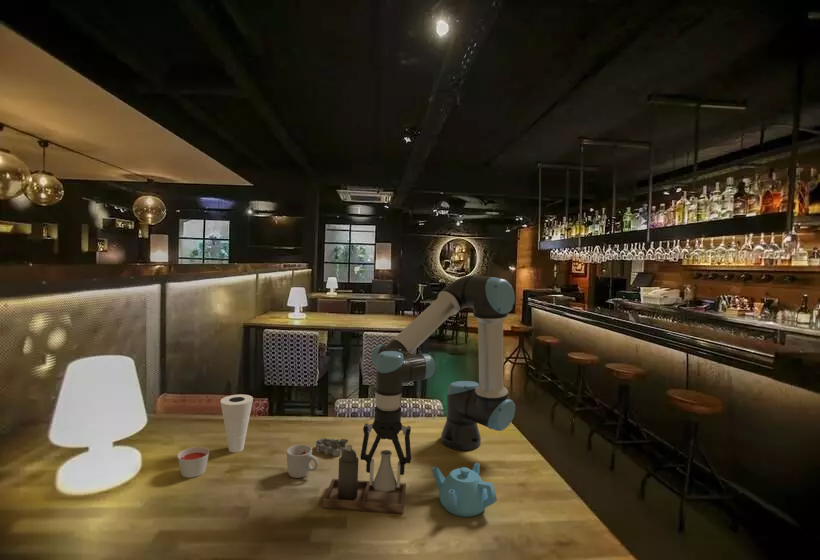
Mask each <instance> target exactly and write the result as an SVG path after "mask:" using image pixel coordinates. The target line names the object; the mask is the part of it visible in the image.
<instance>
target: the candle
mask: <svg viewBox="0 0 820 560" xmlns="http://www.w3.org/2000/svg"><path fill="white" fill-rule="evenodd" d="M209 455H210V449H209V448H207V447H205V446H193V447H188V448H184V449H182V450H181V451H180V452H178V453H177V462H178V465H179V466H178V467H179V471H180V475H181V477H183V478H187V479H191V478H197V477H200V476H202V475H203V474H205V472H206V469H207V465H208V460H209Z"/></svg>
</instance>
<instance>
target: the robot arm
mask: <svg viewBox="0 0 820 560" xmlns="http://www.w3.org/2000/svg"><path fill="white" fill-rule="evenodd" d="M515 299H516V298H515V290H514V288H513V286H512V284H511V283H510V282H509V281H508V280H506V279H504V278H498V277H495V276H494V277H493V276H481V275H480V276H479V275H472V274H470V275H465V276H462V277H459V278H458V279H456V280H454V281H452V282H451V283H450V284H448V285H446V286H445V287H444V288H443V289H442V290H440V291H439V293H438V294H437V297H436V299H435V300H434V301H433V302H431V304H430V305H429V306H427V307H426V308H425V309H424V310H423V311H422V312H421V313H420V314H419V315H418V316H417V317H415V318H414V319H413V320H412V321H411V322H410V323H408V325H406V327H405V328H404V329H402V330H401V331H400V332H399V333H398V334H397V335H396V336H395V337H393V339H391V340H390V341H389V343H387V344H379V345H376V346H375V347H374V348H373V350H371V351H372V352H371V355H370V358H371V363H372V364H373V365H374V366H375V391H374V393H375V395H374V396H375V397H374V405H375V407H374V416H373V417H374V420H373V423H365V424H364V425H363V427H362V430H363V440H362V445H361V451H360V456H359V457H360V458H359V459H360V461H365V462H366V465H365V466H366V470H365V471H366V473H369V481H370V482H369V485H372V484H373V481H374V472H375V467H374V465H375V458H373V456H374V454H375V453H376V450H377V448H378V445H379V443H380V441H381V440H389V441H391V442H392V444H393V446H394V449H395V452H396V455H397V457H398V461H397V470H396V471H397V472H396V482H397V487H399V486H400V483H401V476H404V474H405V468H406V467H405V466H406V464H411V462H412V449H411V439H410V438H411V437H410V435H411V431H412V430H411V429H412V427H411V426H410V425H407V426H405V425H403V424H402V422H401V421H402V420H401V419H402V417H401V416H402V398H403V396H402V395H403V385H404V384H408V383H412V382H417V381H424V380H426V379H429V378H431V377H432V376H434V374H435V372H436V371H435V370H436V362H435V360H434V358H433V356H431V355H430V354H429V353H419V354H414V352H415V350H416V349H417V348H419V347H420V345H422V344H423V343H424V342H425V341H426V340H427V339H428V338H429V337H430V336H431V335H432V334H433V333H434V332H435V331H436V330H437V329H438V328H439V327H440V326H442V325H443V323H444V322H445V321H446V320H447V319H448V318H450V317H451V316H452V314H458V313H459V311H461V310H463V309H466V308H470V309H472V310H473V312H472V313H473V318H475V319H476V320H477V326H478V327H477V331H478V332H477V333H478V334H477V337H478V339H477V340H478V341H477V343H478V382H477V381H471V380H458V381H453V382H451V383H450V384H448V387H447V394H446V395H447V397H446V398H447V399H446V421H445V424H444V426H443V428H442V431H441V435H440V441H441V443H442V444H443V445H444V446H446V447H447V448H449V449H452V450H457V451H471V450H475V449H478V448H479V447H481V444H482V443H481V442H482V441H481V440H482V437H481V433H480V430H479V426H478V424H479V425H481V426H483V427H486V428H488V429H489V430H493V431H497V432H501V431H503V430H505V429H507V428H508V427H509V426H510V425H511V423H512V421H513V419H514V416H515V413H516V403H514V401H513V399H511V398H509V390H508V389H507V388H506V387H505V386H504V383H505V381H504V379H505V378H504V377H505V376H504V320H505V319H507V317H508V314H509V313H510V312H511V311H512V310H513V307H514V305H515V301H516V300H515ZM372 429H373V431H374V432H375V433H376V436H375V439H374V441H373V443H372V445H371V448H370V451H369V452H368V454H367V450H368V449H367V448H368V444H369V438H370V433H371V432H372ZM401 431H402V435H404V443H405V444H404V445H405V454H404V452H403V449H402V446H401V443H400V441H399V434H400V432H401Z"/></svg>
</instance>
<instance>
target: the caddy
mask: <svg viewBox="0 0 820 560" xmlns="http://www.w3.org/2000/svg"><path fill="white" fill-rule="evenodd" d="M369 482H370V480H361V479H358V488H357V498H356V499H355V500H353V501H351V500H339V499H338V478H332V479H331V481H330V483H329V486H328V489H327V491H326V492H325V495H324V497H323V499H322V509H326V510H338V511H339V510H340V511H341V510H342V511H351V512H353V511H354V512H365V513H366V512H368V513H381V514H392V515H393V514H397V515H404V509H405V508H404V507H405V500H406V492H407V491H406V490H407V483H404V482H403V483H401V482H400V486H399V487H396V488H395V490H393V491H388V492H382V491H377V490H375V489H374V487H373V486H372V485H369ZM373 482H374V480H373Z"/></svg>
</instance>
